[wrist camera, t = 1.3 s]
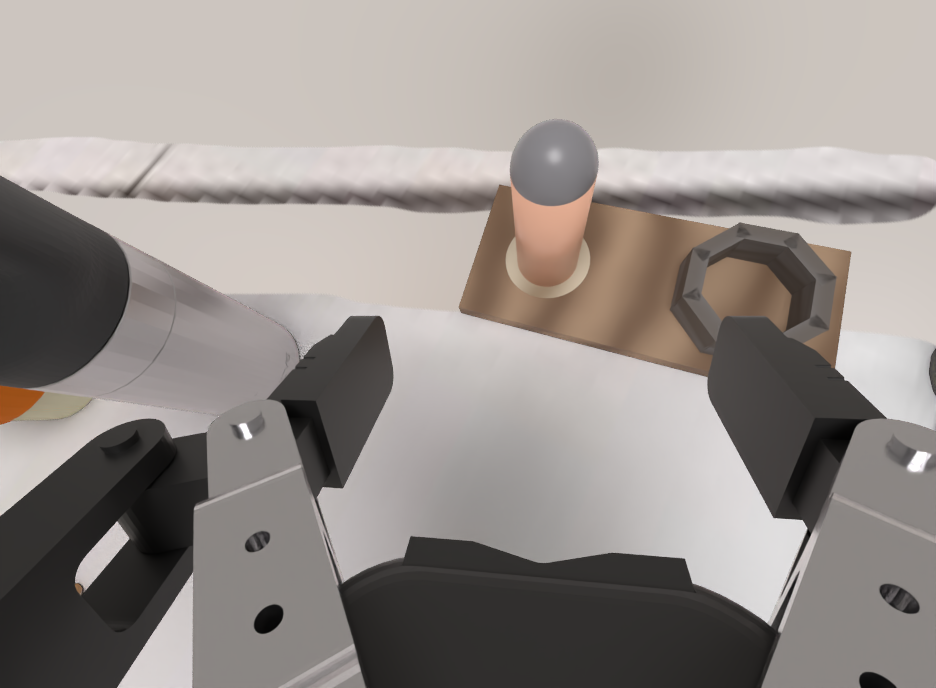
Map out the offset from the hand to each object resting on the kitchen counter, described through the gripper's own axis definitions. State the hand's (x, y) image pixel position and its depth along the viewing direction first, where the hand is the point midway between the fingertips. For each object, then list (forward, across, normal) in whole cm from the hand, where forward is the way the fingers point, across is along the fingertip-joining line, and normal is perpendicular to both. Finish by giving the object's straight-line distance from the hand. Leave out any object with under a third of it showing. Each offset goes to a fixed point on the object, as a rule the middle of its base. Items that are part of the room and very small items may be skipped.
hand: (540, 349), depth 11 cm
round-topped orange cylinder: (+26, -1, +7) cm, 27 cm away
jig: (+26, -8, +10) cm, 29 cm away
